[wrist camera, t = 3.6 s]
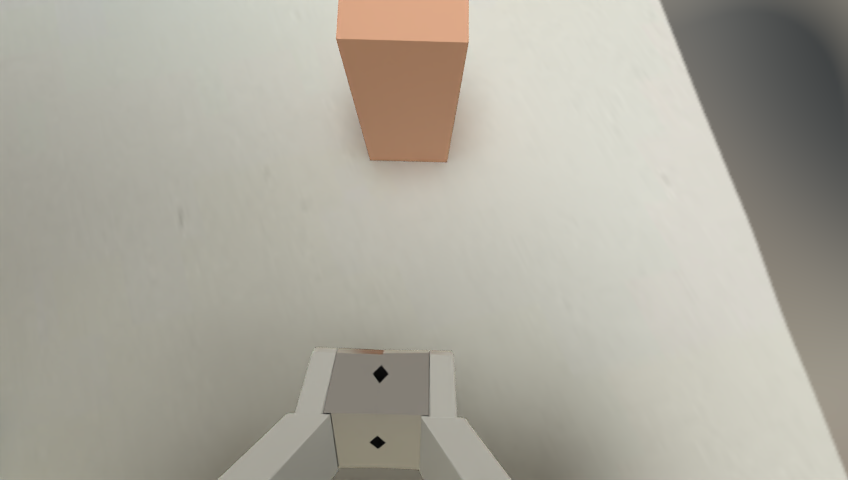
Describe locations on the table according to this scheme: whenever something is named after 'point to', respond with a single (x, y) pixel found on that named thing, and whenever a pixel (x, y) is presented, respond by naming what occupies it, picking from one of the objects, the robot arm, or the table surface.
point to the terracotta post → (404, 73)
